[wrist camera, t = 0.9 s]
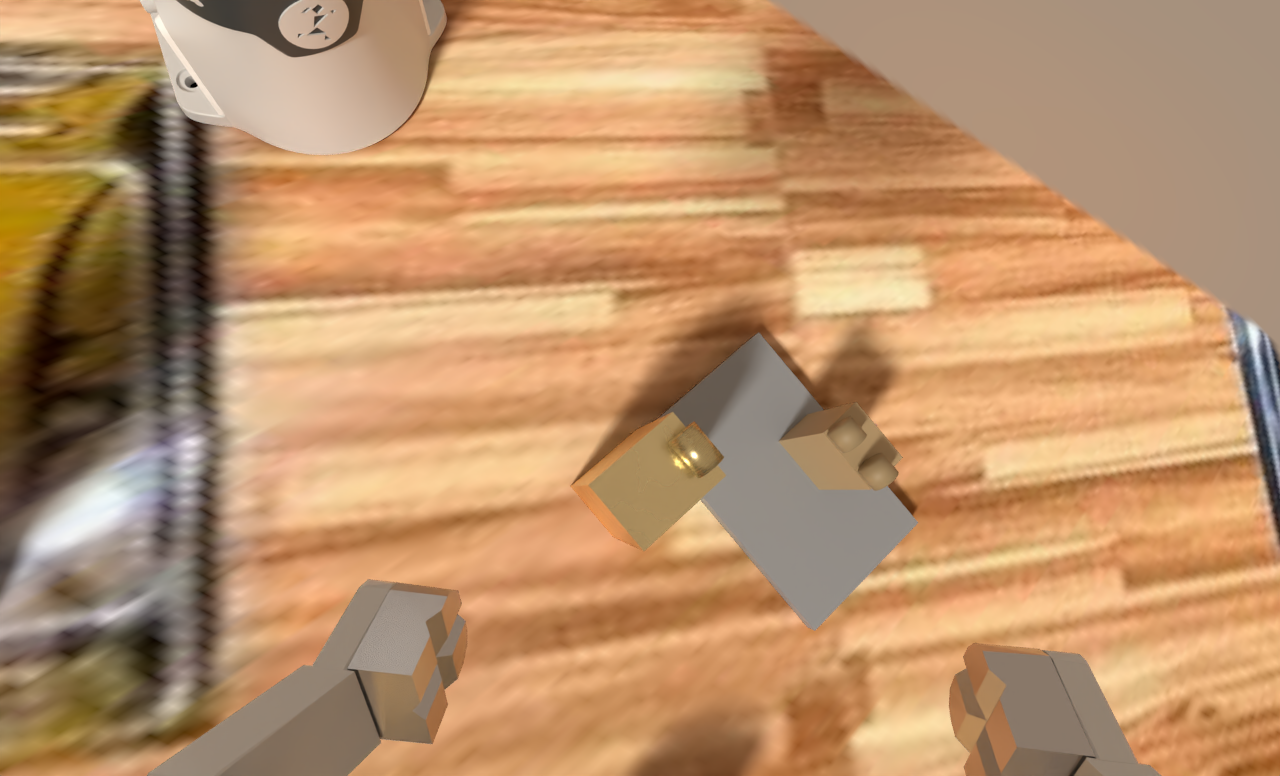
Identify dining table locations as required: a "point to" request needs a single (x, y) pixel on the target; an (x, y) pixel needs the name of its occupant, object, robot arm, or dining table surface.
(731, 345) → the dining table surface
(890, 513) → the gray base plate
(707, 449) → the tan block
